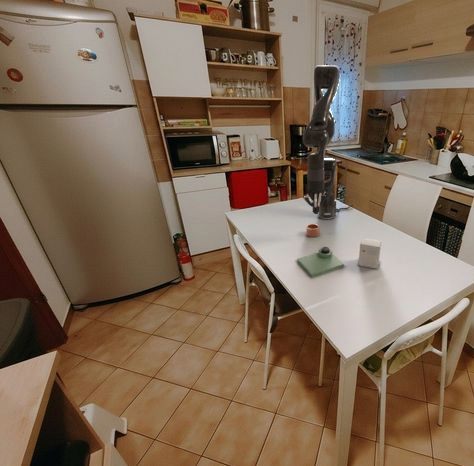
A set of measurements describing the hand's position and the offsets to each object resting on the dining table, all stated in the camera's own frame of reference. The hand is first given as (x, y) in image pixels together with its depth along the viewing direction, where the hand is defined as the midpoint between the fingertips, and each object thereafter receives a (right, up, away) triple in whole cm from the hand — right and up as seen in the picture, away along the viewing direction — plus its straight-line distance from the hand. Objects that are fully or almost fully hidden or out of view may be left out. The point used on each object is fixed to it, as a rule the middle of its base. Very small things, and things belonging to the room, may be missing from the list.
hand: (315, 213), depth 124 cm
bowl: (-2, -10, +10) cm, 14 cm away
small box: (+23, -23, -13) cm, 34 cm away
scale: (+2, -22, -13) cm, 26 cm away
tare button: (+4, -18, -10) cm, 21 cm away
